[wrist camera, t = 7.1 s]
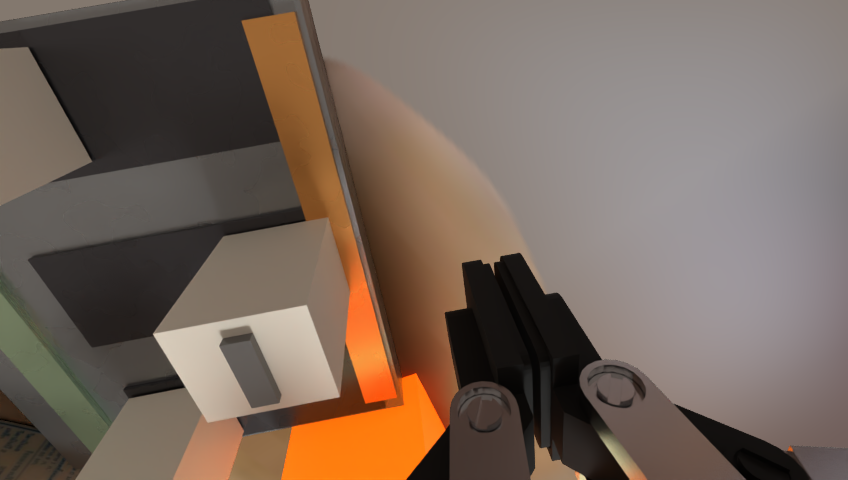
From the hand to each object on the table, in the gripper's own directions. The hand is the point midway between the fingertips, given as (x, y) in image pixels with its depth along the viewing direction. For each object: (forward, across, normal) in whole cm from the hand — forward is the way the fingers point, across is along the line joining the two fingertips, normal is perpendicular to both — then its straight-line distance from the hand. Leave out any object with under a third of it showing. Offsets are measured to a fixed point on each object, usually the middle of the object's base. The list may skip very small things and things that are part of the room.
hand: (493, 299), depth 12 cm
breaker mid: (+5, +7, 0) cm, 9 cm away
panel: (+7, +13, 0) cm, 15 cm away
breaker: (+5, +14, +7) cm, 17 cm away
